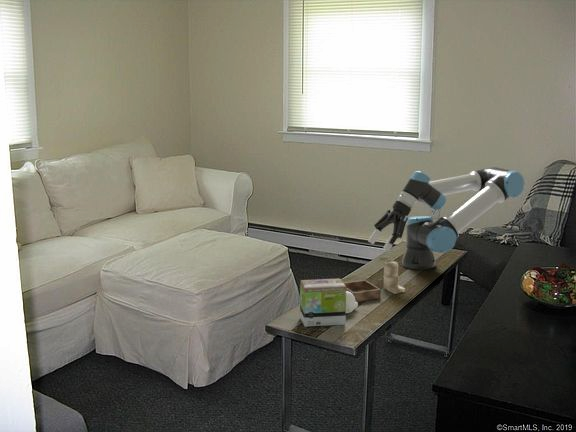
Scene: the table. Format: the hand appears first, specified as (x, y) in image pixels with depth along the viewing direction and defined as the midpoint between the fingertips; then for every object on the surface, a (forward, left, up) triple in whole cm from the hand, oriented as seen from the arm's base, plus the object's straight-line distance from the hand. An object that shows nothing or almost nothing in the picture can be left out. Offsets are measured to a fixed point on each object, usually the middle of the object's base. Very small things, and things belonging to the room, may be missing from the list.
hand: (377, 246), depth 280 cm
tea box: (+41, +35, -16) cm, 56 cm away
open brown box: (+16, +15, -15) cm, 27 cm away
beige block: (0, +14, -15) cm, 21 cm away
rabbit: (+31, +28, -16) cm, 44 cm away
